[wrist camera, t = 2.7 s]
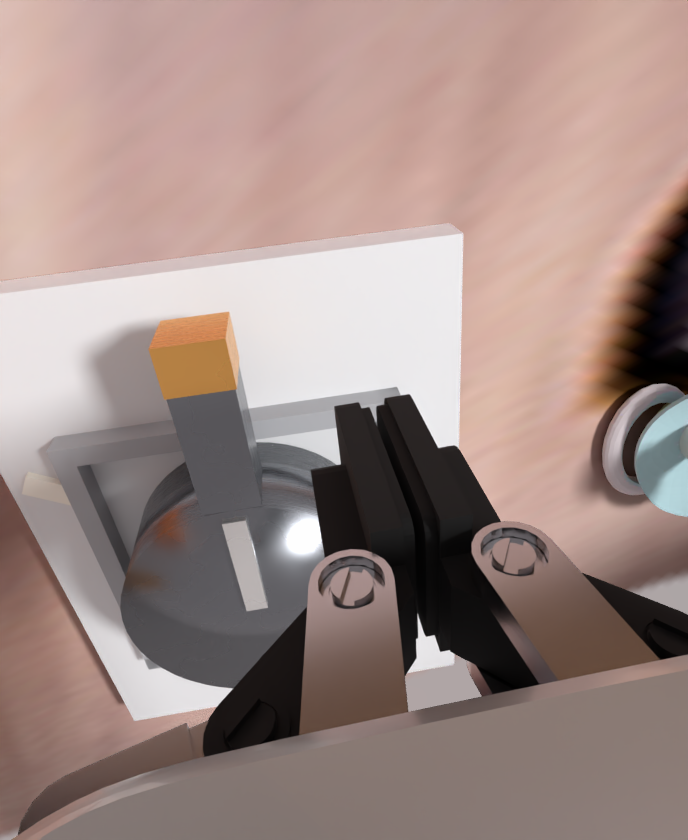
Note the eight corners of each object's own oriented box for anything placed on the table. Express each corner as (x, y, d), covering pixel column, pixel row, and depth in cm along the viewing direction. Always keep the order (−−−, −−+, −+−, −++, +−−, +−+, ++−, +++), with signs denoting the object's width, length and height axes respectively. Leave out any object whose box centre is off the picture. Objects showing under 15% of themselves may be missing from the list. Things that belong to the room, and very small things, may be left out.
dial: (377, 593, 27) (394, 670, 24) (174, 627, 27) (161, 712, 23) (347, 275, 19) (368, 321, 15) (48, 315, 18) (-4, 372, 15)
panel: (449, 222, 20) (472, 240, 18) (446, 640, 33) (459, 680, 30) (-65, 289, 19) (-108, 316, 17) (139, 693, 32) (131, 739, 29)
